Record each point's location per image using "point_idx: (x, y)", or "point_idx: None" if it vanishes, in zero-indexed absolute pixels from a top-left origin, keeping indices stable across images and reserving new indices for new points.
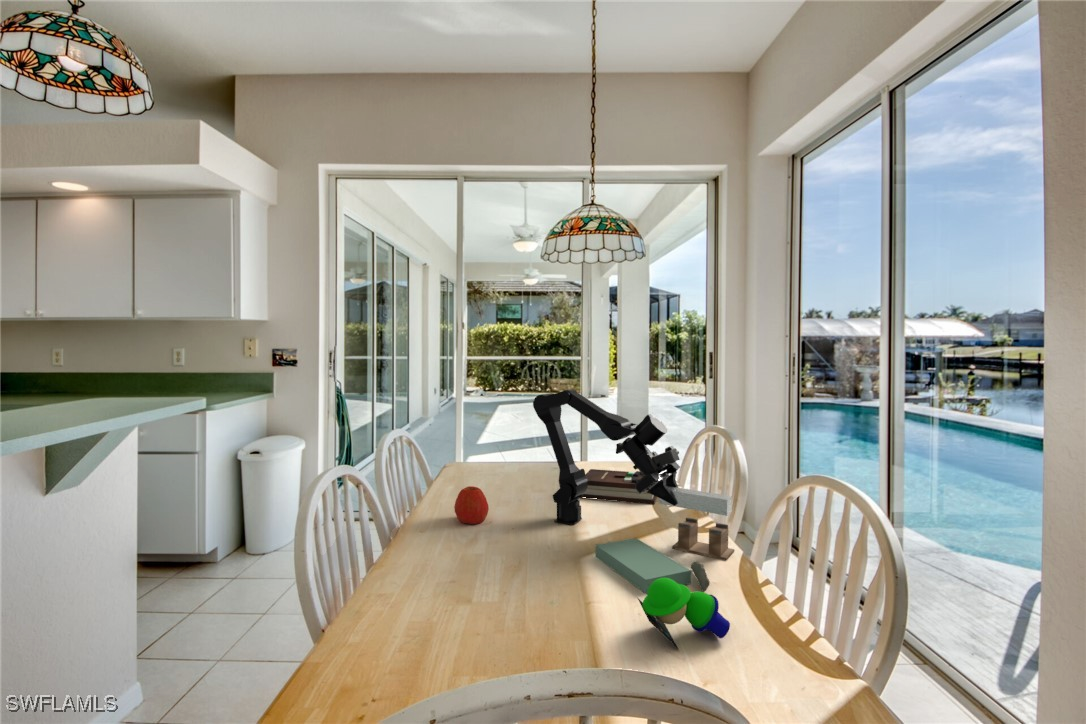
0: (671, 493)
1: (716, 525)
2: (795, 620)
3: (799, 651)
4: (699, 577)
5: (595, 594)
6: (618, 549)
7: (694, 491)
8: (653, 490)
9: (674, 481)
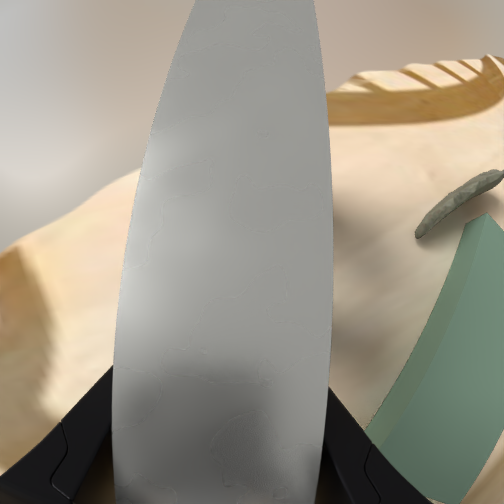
0: (328, 431)
1: None
2: (446, 68)
3: (494, 84)
4: (470, 198)
5: None
6: (469, 446)
7: (198, 175)
8: None
9: (41, 490)
